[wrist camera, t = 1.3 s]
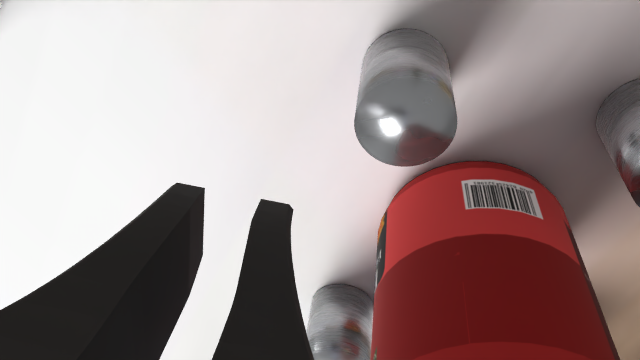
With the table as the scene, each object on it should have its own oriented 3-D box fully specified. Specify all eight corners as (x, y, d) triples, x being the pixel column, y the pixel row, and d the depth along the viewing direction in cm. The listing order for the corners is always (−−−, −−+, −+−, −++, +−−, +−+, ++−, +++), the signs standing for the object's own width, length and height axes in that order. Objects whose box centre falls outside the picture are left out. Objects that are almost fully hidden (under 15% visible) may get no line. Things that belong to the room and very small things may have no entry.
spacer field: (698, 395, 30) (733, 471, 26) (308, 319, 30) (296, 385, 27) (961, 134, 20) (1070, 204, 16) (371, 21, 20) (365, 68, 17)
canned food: (345, 203, 25) (313, 440, 16) (515, 121, 21) (594, 364, 13) (430, 306, 28) (443, 550, 19) (590, 248, 25) (695, 513, 16)
